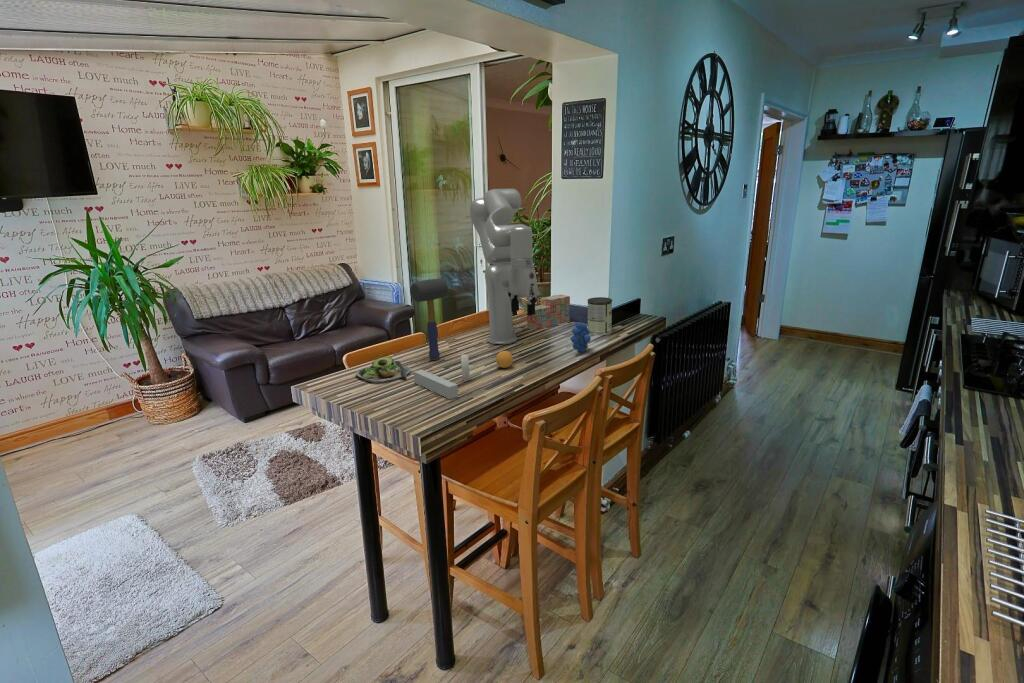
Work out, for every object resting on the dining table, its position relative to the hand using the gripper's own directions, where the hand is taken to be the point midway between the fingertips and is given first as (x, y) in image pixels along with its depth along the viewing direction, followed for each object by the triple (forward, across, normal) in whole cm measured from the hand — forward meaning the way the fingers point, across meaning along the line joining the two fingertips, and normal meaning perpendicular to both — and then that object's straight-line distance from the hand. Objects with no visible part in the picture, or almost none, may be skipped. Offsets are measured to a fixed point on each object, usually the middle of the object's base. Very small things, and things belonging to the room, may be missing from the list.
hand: (523, 312), depth 185 cm
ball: (+15, 0, +9) cm, 18 cm away
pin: (+18, 0, +26) cm, 32 cm away
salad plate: (+19, +26, +42) cm, 53 cm away
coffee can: (+18, +5, -49) cm, 52 cm away
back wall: (+18, 0, +38) cm, 42 cm away
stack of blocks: (+18, +30, -43) cm, 56 cm away
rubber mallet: (+18, +26, +22) cm, 38 cm away
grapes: (+18, -9, -22) cm, 30 cm away
